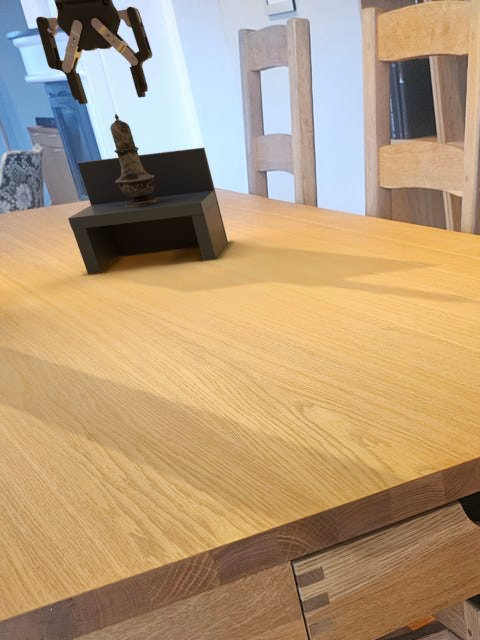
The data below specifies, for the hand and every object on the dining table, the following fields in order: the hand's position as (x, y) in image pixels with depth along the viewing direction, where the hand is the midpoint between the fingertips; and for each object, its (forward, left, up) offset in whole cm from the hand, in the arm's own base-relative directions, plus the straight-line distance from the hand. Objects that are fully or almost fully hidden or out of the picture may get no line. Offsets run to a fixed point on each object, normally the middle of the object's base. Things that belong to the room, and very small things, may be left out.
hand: (112, 100), depth 121 cm
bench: (0, +1, -22) cm, 22 cm away
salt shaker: (0, 0, -14) cm, 14 cm away
